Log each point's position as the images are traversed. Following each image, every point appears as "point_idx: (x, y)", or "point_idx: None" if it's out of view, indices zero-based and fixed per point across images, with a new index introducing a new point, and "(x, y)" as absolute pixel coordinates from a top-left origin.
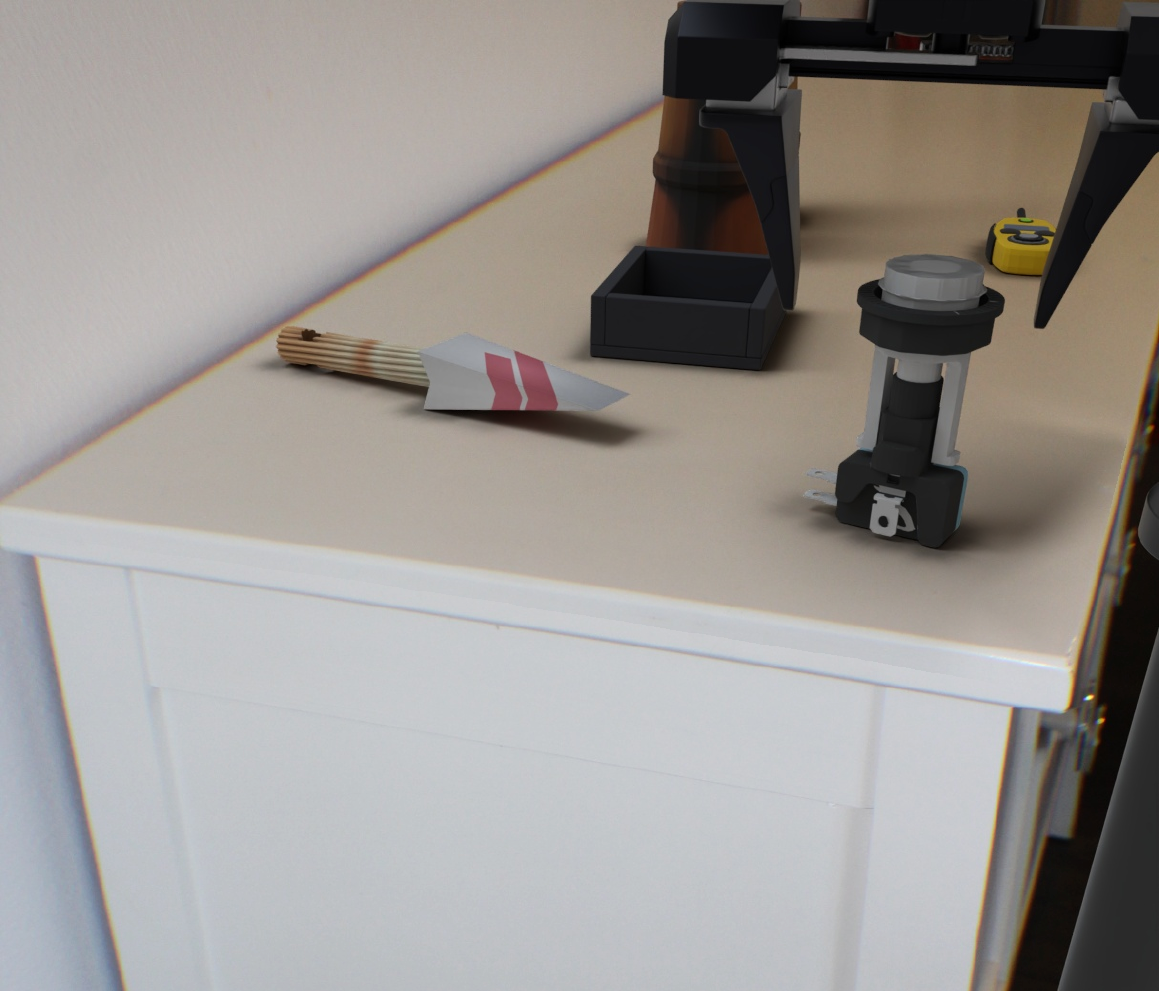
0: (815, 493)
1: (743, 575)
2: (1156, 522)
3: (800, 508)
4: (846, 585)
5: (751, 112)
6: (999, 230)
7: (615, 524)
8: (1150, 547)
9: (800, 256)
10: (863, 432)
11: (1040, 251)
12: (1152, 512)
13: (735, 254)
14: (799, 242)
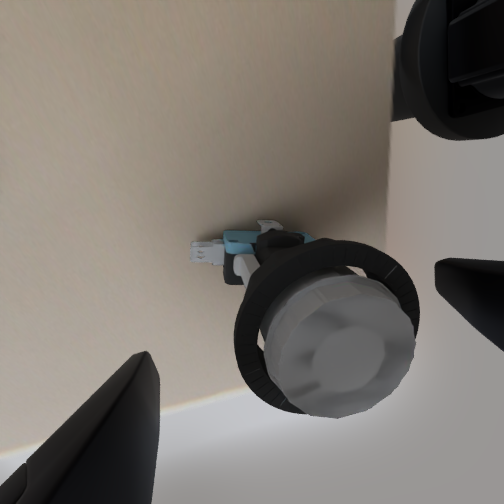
0: (197, 246)
1: (203, 360)
2: (422, 98)
3: (189, 249)
4: (262, 339)
5: None
6: None
7: (86, 343)
8: (408, 101)
9: (130, 386)
10: (235, 260)
11: None
12: (421, 86)
13: None
14: (124, 410)
